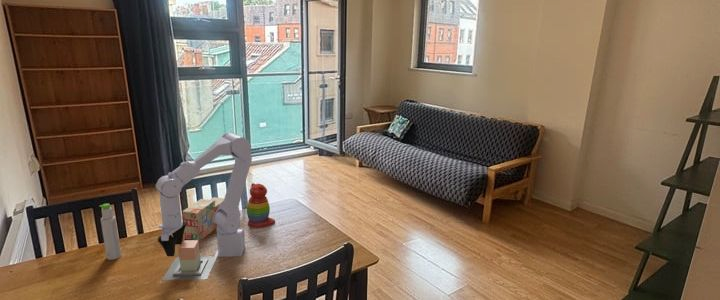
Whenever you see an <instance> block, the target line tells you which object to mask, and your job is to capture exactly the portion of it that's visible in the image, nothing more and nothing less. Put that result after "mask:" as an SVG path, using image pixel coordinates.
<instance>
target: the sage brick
mask: <svg viewBox="0 0 720 300" xmlns="http://www.w3.org/2000/svg"><path fill="white" fill-rule="evenodd" d="M200 257H201V252H200V251H199V254H198V255H197V257H196V259H195V260H180V267H181V272H192V271H197V270H198V268H199V266H200V264H201V260H200Z"/></svg>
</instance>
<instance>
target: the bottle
mask: <svg viewBox="0 0 720 300" xmlns="http://www.w3.org/2000/svg"><path fill="white" fill-rule="evenodd" d="M99 208H101V216H102V217H100V224H101V231H102V237H103V243H104V249H105V256H106V259H107V260H111V261H112V260H117V259H118V258H120V257H121V256H122V253H121V251H122V250H121V246H120V239H119V231H118V226H117V220H116V219H117V218H116V215H114V213H113V208H112V207H111V205H110V203H103V204H101V205H99Z"/></svg>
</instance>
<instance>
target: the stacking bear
mask: <svg viewBox="0 0 720 300" xmlns="http://www.w3.org/2000/svg"><path fill="white" fill-rule="evenodd" d="M250 186H251V187H250V189H249V194H250V198H248V201H247V205H246V214H247V219H248V221H247V226H248V227H250V228H251V229H252V228H253V229H263V228H267V227H271V226H273V225H275V224H276V220H275V219H274V218H271V217H269V216H270V209H271V208H270V204H269V200H268V197H267V196H266V195H267V194H268V188H266V186H265V185H264V184H262V183H254V182H252V183H251V184H250Z"/></svg>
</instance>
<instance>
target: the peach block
mask: <svg viewBox="0 0 720 300" xmlns="http://www.w3.org/2000/svg"><path fill="white" fill-rule="evenodd" d="M177 249H178V250H177V251H178V257H179V260H195V259H196V257H197V255H198V254H199V252H200V244H199V240H196V239H183V241H182V243H181V244H179V246H178V248H177Z"/></svg>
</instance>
